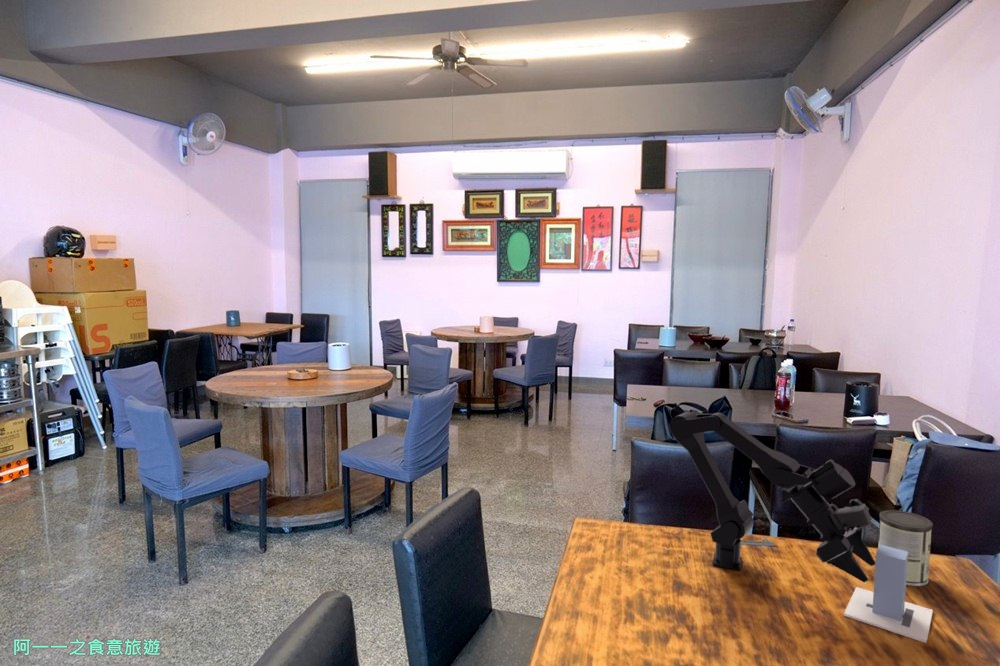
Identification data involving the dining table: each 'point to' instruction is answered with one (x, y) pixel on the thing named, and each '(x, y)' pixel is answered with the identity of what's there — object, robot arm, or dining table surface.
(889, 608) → the slate blue block
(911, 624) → the letter tile
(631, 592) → the dining table surface
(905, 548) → the coffee can
